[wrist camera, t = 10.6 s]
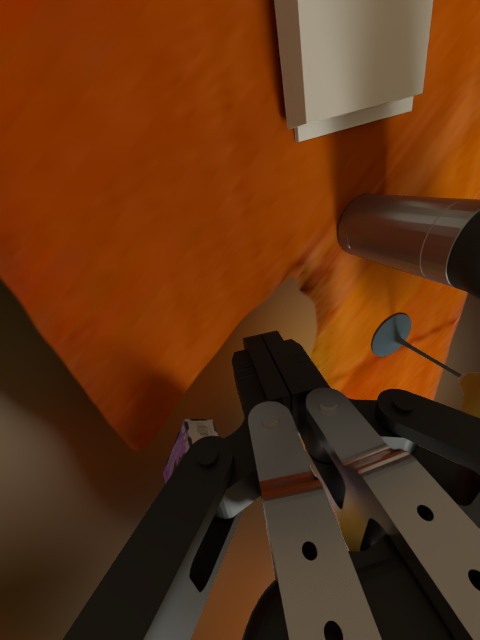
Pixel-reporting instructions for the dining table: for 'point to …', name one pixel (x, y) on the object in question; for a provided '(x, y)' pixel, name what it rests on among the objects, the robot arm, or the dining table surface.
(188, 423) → the candy box
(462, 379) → the cocktail glass
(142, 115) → the dining table surface
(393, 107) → the cutting board
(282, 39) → the tile
